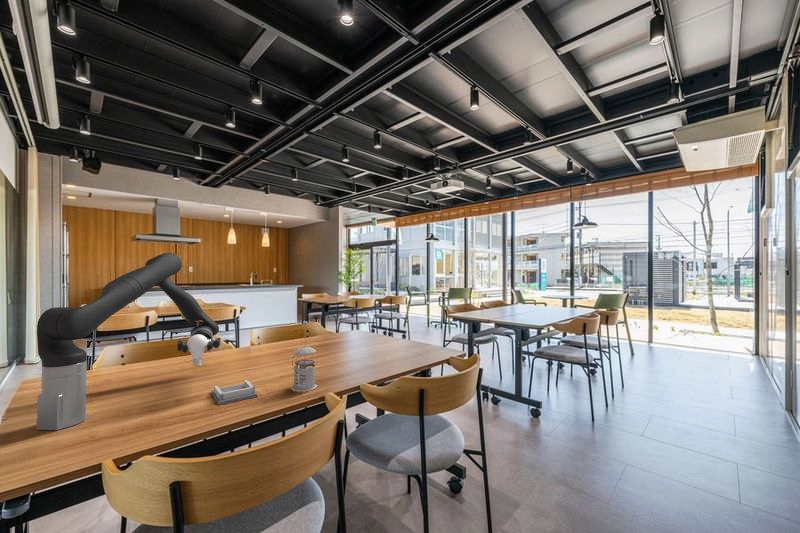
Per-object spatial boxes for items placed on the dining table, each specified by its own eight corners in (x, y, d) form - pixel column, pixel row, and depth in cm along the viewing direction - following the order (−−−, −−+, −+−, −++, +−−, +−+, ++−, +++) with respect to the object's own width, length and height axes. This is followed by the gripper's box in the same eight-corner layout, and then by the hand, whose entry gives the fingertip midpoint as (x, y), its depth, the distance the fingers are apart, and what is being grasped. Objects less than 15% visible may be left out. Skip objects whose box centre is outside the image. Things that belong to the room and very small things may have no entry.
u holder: (257, 396, 119) (257, 388, 119) (219, 405, 112) (219, 395, 112) (246, 386, 130) (246, 378, 130) (211, 392, 123) (211, 384, 123)
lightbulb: (201, 369, 115) (201, 336, 115) (182, 368, 115) (182, 336, 115) (211, 363, 122) (211, 332, 121) (193, 363, 121) (193, 332, 121)
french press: (301, 394, 122) (302, 324, 122) (282, 387, 129) (283, 321, 129) (323, 386, 130) (324, 321, 130) (304, 380, 137) (304, 318, 137)
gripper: (179, 330, 128) (171, 339, 113) (222, 328, 134) (220, 336, 119) (179, 350, 128) (171, 362, 113) (222, 347, 134) (220, 357, 119)
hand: (196, 348), depth 116 cm, fingers closed on lightbulb, 6 cm apart
